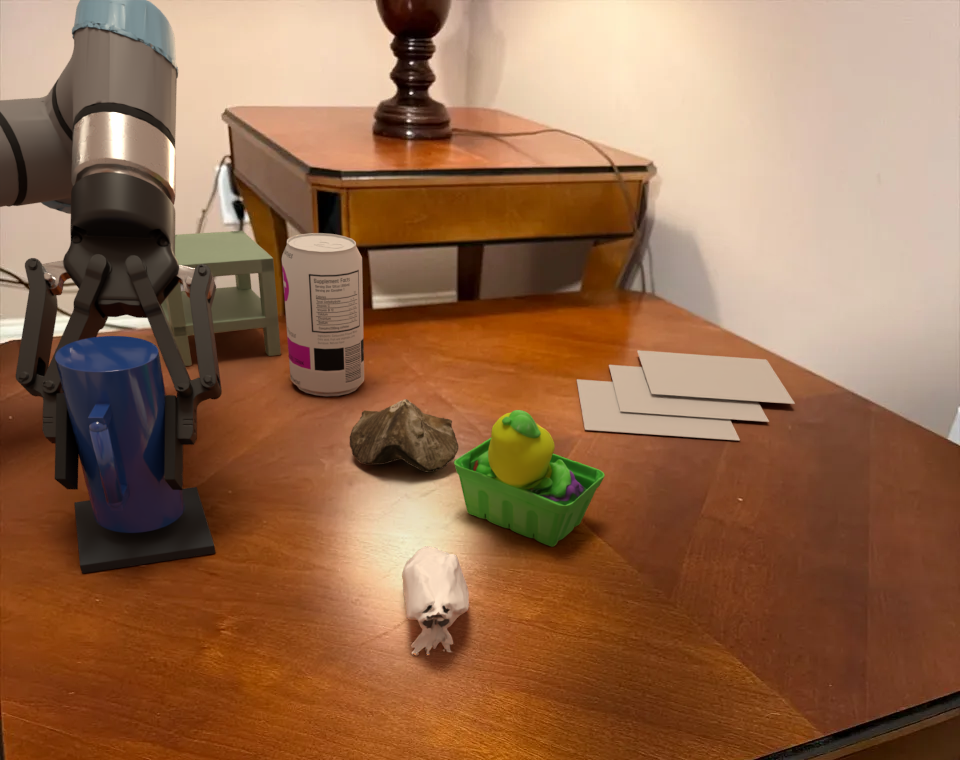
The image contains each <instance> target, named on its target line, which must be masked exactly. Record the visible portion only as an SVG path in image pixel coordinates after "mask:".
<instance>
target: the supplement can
mask: <svg viewBox="0 0 960 760" xmlns="http://www.w3.org/2000/svg"><path fill="white" fill-rule="evenodd" d="M281 270H282V282H283V284H282V285H283V295H284V309H285V325H286V336H287V337H286V338H287V350H288V352H287V353H288V365H289V366H288V367H289V379H290V381H291V382H292V383H293V385H295V386H296V387H297V388H298V389H299V390H300V391H302V392H304V393H305V394H310V395H313V396H317V397H319V396H320V397H340V396H343V395H348V394H351V393H353V392H355V391H356V390H358V389H359V387H360V386H361V385H362V384H363V383H364V382H365V345H364V343H365V342H364V337H365V336H364V294H363V293H364V291H363V290H364V289H363V284H364V283H363V257H362V255H361V253H360V251H359V248H358V247H357V242H356V241H355V240H354V239H353V238H350V237H347V236H345V235H340V234H336V233H335V234H334V233H323V232H313V233H311V232H309V233H302V234H301V233H300V234H297V235H296V234H295V235H292V236H290V237H289V238H287V239H286V246H285V248H284V249H283V253H282V255H281Z"/></svg>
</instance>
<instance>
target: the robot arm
mask: <svg viewBox="0 0 960 760" xmlns="http://www.w3.org/2000/svg"><path fill="white" fill-rule="evenodd" d="M74 17H75V18H74V24H73V26H72V28H71V36H72V39H73V51H72V54H71V57H70V58H69V60H68V62H67V64H66V65H65V67H64V68H63V70H62V72H61V73H60V75H59V77H58V78H57V79H56V81H55V82H54V84H53V86H52V87H51V89H50V90H49V91H48V93H47V95H45V96H44V95H43V96H41V97H31V98H28V97H27V98H15V99H13V98H12V99H1V100H0V208H3V207H9V208H10V207H20V206H26V205H34V204H42V206H43V205H44V206H45V207H47V208H49V209H52V210H56V211H58V212H61V213H65V214H68V215H70V224H69V225H70V227H69V229H70V230H69V232H70V243H69V247H68V249H67V251H66V253H65V254H64V256H63V259H62V260H57V261H53V262H52V261H51V262H47V263H42V262H41V260H39V259H38V258H35V257H30V258H28V259H26V261H25V262H24V270H25V275H26V279H27V283H28V286H29V288H28V289H29V290H28V295H27V301H26V307H25V313H24V314H25V315H24V320H23V325H22V326H23V327H22V332H21V339H20V345H19V352H18V356H17V357H18V358H17V362H16V363H17V364H16V369H15V381H17V382H18V383H19V385H20V386H22V388H24V389H25V390H26V392H27V393H29V395H31V396H33V397H40V398H42V427H41V429H42V433H43V435H44V438H45V439H46V440H48V441H49V442H50V443H51V444H55V447H54V480H55V481H56V482H58V483H59V484H60V485H61V486H62V487H63V488H65V489H66V490H79V459H80V458H79V454H78V450H77V446H76V442H75V438H74V434H73V430H72V426H71V422H70V417H69V413H68V409H67V405H66V401H65V397H64V393H63V389H62V385H61V381H60V377H59V373H58V369H57V365H56V361H55V354H56V352H57V351H58V350H59V349H60V348H62V347H63V346H65V345H67V344H69V343H72V342H75V341H79V340H82V339H87V338H93V337H98V335H99V332H100V330H103V329H104V327H105V326H106V323H107V321H108V319H109V318H119V317H123V316H124V317H125V316H130V317H132V318H138V319H147V321H148V323H149V326H150V329H151V331H152V333H153V335H154V338H155V341H156V344H157V346H158V350H159V352H160V353H161V356H162V359H163V361H164V364H165V366H166V369H167V372H168V375H169V376H170V380H171V381H172V384H173V388H174V390H175V392H176V395H175V394H174V395H173V394H166V395H165V465H164V480H165V481H166V482H167V483H168V485H169V486H170V487H171V488H172V489H173V490H183V489H184V446H195V444H196V441H197V439H198V407H199V405H200V403H202V402H203V401H206V400H209V399H210V400H218V399H219V398H221V396H222V394H223V389H222V383H221V375H220V366H219V359H218V351H217V344H216V336H215V335H216V334H215V333H214V327H213V319H212V311H211V307H212V303H213V299H214V296H215V292H216V288H217V283H216V281H215V279H214V277H213V276H212V273H211V270H210V268H209V267H208V266H207V265H205V264H200V265H198V266H196V268H191V267H187V266H183V265H179V263H178V260H177V259H176V257H175V235H176V208H175V201H176V183H177V181H176V176H177V175H176V173H177V172H176V171H177V170H176V168H177V167H176V166H177V165H176V164H177V162H176V161H177V157H176V131H177V129H176V128H177V127H176V125H177V87H178V86H177V83H178V78H179V68H178V66H177V57H176V38H175V33H174V31H173V27H172V25H171V23H170V21H169V20H168V18H167V16H166V15H165V14H164V13H163V11H162V10H161V9H160V8H159V7H158V6H156V5H155V4H154V3H153V2H152V1H151V0H79V1H78V3H77V6H76V10H75V16H74ZM67 280H72V282H73V284H75V287H77V288H78V290H77V292H76V295H75V297H74V299H73V309H72V312H71V314H70V317H69V319H68V321H67V323H66V326H65V328H64V330H63V333H62V335H61V337H60V340H59V341H58V344H57V346H56V349H55V351H54V353H53V355H52V358H51V353H52V346H53V341H54V334H55V328H56V321H57V315H58V296H61V295H62V294H63V291H64V284H65V282H66V281H67ZM179 282H180V284H182V288H183V291H185V293H186V295H187V296H188V297H189V298H190V305H191V313H192V321H193V329H194V335H193V337H194V343H195V351H196V352H195V353H196V360H197V368H198V375H199V377H197V378H194V379H191V377H190V374H189V372H188V368H187V366H185V364H184V361H183V359H182V356H181V354H180V351H179V349H178V346H177V344H176V341H175V339H174V336H173V334H172V331H171V329H170V326H169V323H168V320H167V318H166V315H165V313H164V310H163V308H162V305H161V304H162V303H163V302H164V300H165V299H166V298H167V297H168V295H169V294H170V293H171V292H172V291H173V289H174V288H175V287H176V286H177V284H178V283H179ZM50 359H51V360H50Z"/></svg>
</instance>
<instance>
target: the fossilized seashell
mask: <svg viewBox="0 0 960 760" xmlns="http://www.w3.org/2000/svg"><path fill="white" fill-rule="evenodd" d="M452 425H453V420H452V419H449V418H444V417H438V416H436V415H432V414H428V413H424V412H423V411H422V410H421V409H420V408H419V407H418V406H417V405H416V404H414V403H413V402H411V401H410V400H409V399H408V398H404V399H402V400H399V401H397V402H395V403H394V404H391V405H390V406H388V407H386V408H383V409H381V410H379V411H377V410H363V411H361V416H360V417H359V420H358V421H357V422H356V423H355V425H354V426H352V429H351V431H350V434H349V446H350V449H351V453H352V455H353V456H354V458H355V460H356V461H358V463H360V464H363V465H370V466H371V465H384V464H388V463H390V462H395V461H397V460H403V461H404V462H405V463H407V464H409V465H410V466H413V467H414V468H416V469H418V470H420V471H421V472H424V473H432V472H433V473H434V472H437V471H439V470H442V469H444V468H445V467H447V465H448V464H449V463H450V462H451V461H452V460H454V458H456V455H457V454H458V451H459V443H458V439H457V437H456V433H455V431H454V429H453V426H452Z"/></svg>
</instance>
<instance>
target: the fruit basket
mask: <svg viewBox="0 0 960 760" xmlns="http://www.w3.org/2000/svg"><path fill="white" fill-rule="evenodd" d="M554 441H555V440H554V439H553V437H552V435H551V433H550V432H549V431H548V430H547V429H546V428H544V427H542V426H541V425H539V423H537V422H536V421H535V419H534V418H533V417H532V415H531V414H530V413H529V412H527V411H525V410H522V409H515V410H512V411H511V412H507V413H504V414H503V415H502V416H500V417H499V418H498V419H496V421H495V422H494V424H493V425H492V428H491V431H490V437H489V438H488V439H487V440H485V441H483V442H481V443H480V444H478V445H477V446H475V447H474V448H472V449H470V450H468V451H467V452H465V453H464V454H462V455H461V456H459V457H458V458H456V459H455V460H454V461H453V464H454V467H455V471H456V473H457V475H458V478H459V482H460V486H461V490H462V495H463V499H464V504H465V508H466V512H467V514H469V515H472V516H474V517H477V518H479V519H482V520H487V521H488V522H489V523H491V524H494V525H497V526H499V527H501V528H504V529H510V530H511V531H512V532H514V533H516V534H518V535H520V536H523V537H525V538H529V539H534V540H535V541H537V542H538V543H541V544H543V545H545V546H549V547H550V548H553V547H555V546H556V545H557V544H558V542H559V541H561V540H563V539H564V538H566V537H567V536H568V535H569V534H570V533H572V531H573V530H574V528H576V527H578V526H579V525H581V523H582V521H583V519H584V517H585V514H586V512H587V511H588V509H589V506H590V505H591V502H592V500H593V497H594V495H595V493H596V491H597V489H598V488H600V486H601V484H602V482H603V480H604V478H605V477H606V476H605V473H604V471H603V470H601V469H599V468H597V467H593V466H590V465H587V464H584V463H582V462H579V461H575V460H572V459H570V458H567V457H564V456H561V455H559V454H556V453H554V451H555V447H556V446H555V442H554Z"/></svg>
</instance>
